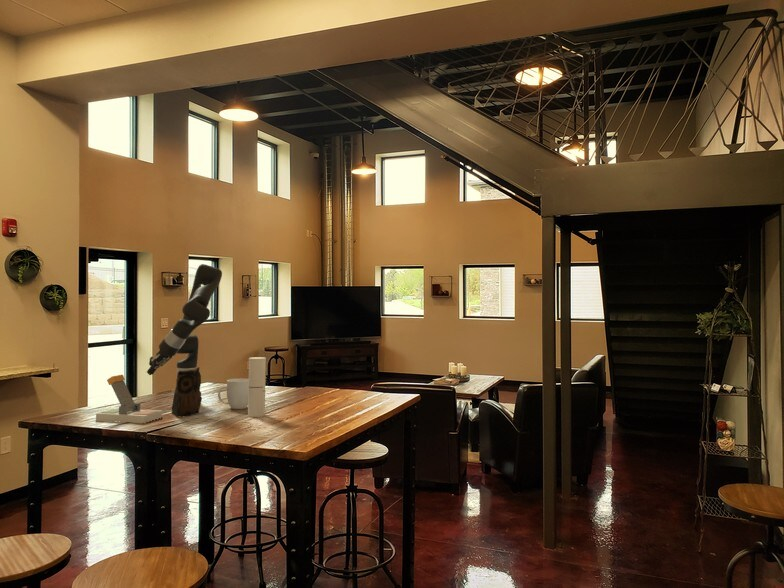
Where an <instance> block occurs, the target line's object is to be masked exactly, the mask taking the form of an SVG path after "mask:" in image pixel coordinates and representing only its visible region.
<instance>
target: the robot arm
mask: <svg viewBox="0 0 784 588" xmlns="http://www.w3.org/2000/svg"><path fill="white" fill-rule="evenodd" d="M222 277H223V271H222V270H221V269H219V268H218V267H214V266H211V265H208V264H204V263H201V264H199V265H198V266H197V269H196V272H195V275H194V280H193V283H192V288H191V292H190V295H189V298H188V301H186V303H184V305H183V306H182V309H181V310H182V313H183V317H182V318H179V320H178V321H176V323H175V324H174V325H173V327H172V328H171V329H170V330H169V332H168V333H167V334H166V335H165V337H164V338H163V339H162V340H161V342H160V343H159V344H158V349H159V351H158V352H156V353H155V356H154V357H153V356H150V357H149V361H148V362H149V363H148V365H149V366H150V367H149V368H148V369H147V370H146V373H147V374H148V375H149V376H151V375H154V373H155V372H156V371H157V369H159V368H161V367H163V366H164V365H166V364H167V363H168V361H170V360H171V359H172V358H173V357H174V356H176V355H177V354H182V355H186V354H187V356H186V357H185V358H183V359H181V360H179V361H177V362H176V375H177V374H178V372H179V371H183V370H187V369H194V368H198V366H197V365H198V360H199V359H198V358H199V356H198V354H199V343H200V342H199V338H198V336H197V335H196V334H192V333H193V331H195V330H196V329H197V328H198V327H199V326H201V325H202V324H204V323H205V322H206V321H207V320H208V318H210V314H211V311H210V309H209V308H208V306H209V303H210V300H211V297H212V296H213V295H214V293H215V291H216V290H217V288H218V287H219V285H220V283H221V279H222Z"/></svg>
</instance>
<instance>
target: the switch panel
mask: <svg viewBox="0 0 784 588" xmlns="http://www.w3.org/2000/svg"><path fill="white" fill-rule="evenodd" d="M134 403H135V405H137V409H136V410H133V411H130V412H127V407H128V406H121V405H120V406H118V408H116V407H115V408H110V409H107V410H103V411H100V412H97V413H95V421H96V422H107V421H120V422H119V423H125V422H133V423H132V424H143V423H145V424H147V423H146V422H148V423H150V422H149V421H151V422H153V421H152V420H154V421H156V420H155V419H157V420H159V419H158V418H160V419H162V418H163V410H157V409H141V404H142V403H141V402H134ZM161 417H162V418H161Z"/></svg>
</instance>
